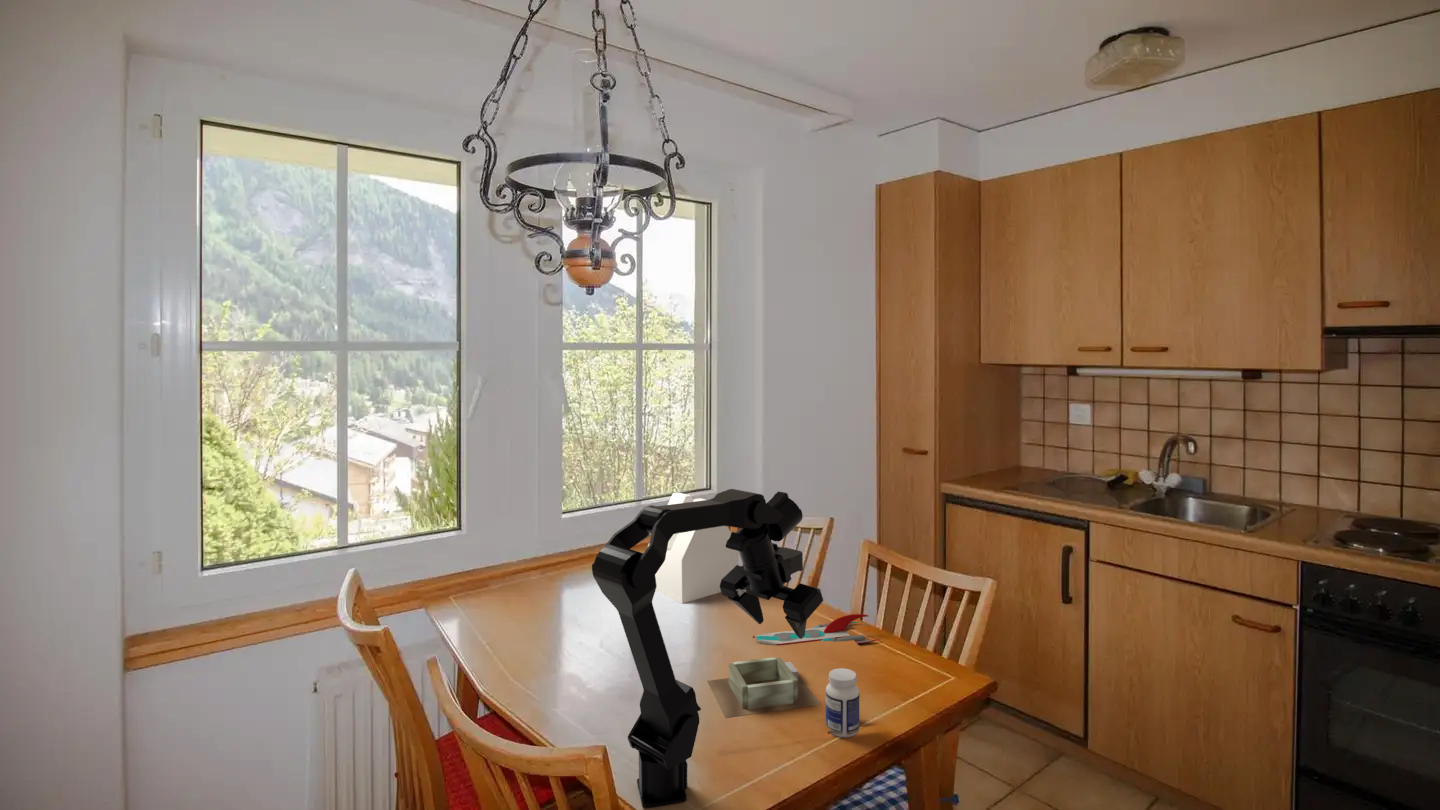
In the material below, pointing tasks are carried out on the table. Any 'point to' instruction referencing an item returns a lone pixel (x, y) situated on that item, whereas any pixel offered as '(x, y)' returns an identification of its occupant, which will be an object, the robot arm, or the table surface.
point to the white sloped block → (695, 561)
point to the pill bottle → (842, 703)
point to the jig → (760, 688)
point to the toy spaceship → (817, 633)
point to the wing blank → (792, 669)
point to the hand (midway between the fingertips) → (781, 629)
